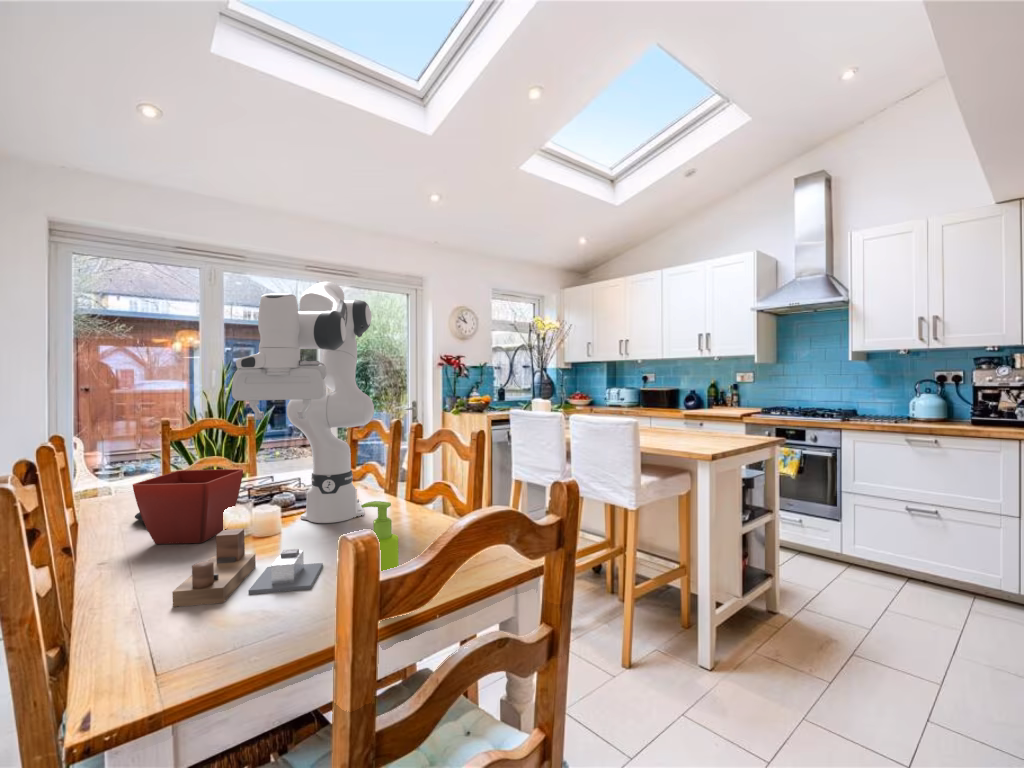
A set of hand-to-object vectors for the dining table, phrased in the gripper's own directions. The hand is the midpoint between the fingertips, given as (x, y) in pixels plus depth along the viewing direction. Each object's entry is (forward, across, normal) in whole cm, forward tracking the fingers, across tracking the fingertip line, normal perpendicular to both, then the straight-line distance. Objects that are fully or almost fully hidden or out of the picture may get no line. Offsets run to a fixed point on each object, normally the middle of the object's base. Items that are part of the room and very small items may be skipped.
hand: (280, 419), depth 114 cm
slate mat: (+34, -4, +11) cm, 36 cm away
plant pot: (+34, +30, -24) cm, 52 cm away
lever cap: (+33, -4, +11) cm, 35 cm away
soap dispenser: (+34, -25, +27) cm, 50 cm away
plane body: (+34, +10, +11) cm, 37 cm away
